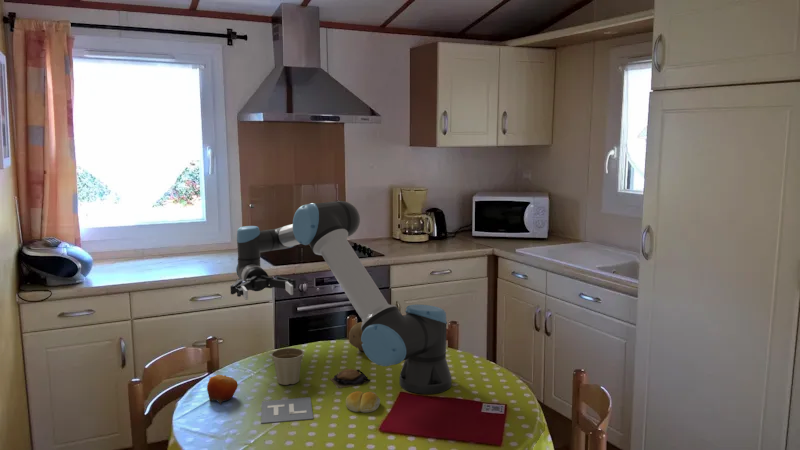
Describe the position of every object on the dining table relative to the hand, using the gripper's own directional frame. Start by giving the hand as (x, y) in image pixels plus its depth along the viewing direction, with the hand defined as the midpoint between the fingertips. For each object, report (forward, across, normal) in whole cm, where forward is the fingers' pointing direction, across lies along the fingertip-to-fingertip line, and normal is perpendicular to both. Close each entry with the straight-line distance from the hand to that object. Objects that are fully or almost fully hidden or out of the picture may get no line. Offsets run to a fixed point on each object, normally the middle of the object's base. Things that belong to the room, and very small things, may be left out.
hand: (269, 292), depth 184 cm
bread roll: (+33, -17, -26) cm, 45 cm away
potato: (-7, -32, -25) cm, 41 cm away
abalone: (+15, -20, -26) cm, 36 cm away
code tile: (+27, +2, -25) cm, 37 cm away
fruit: (+13, +17, -25) cm, 33 cm away
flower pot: (+9, -3, -25) cm, 27 cm away
